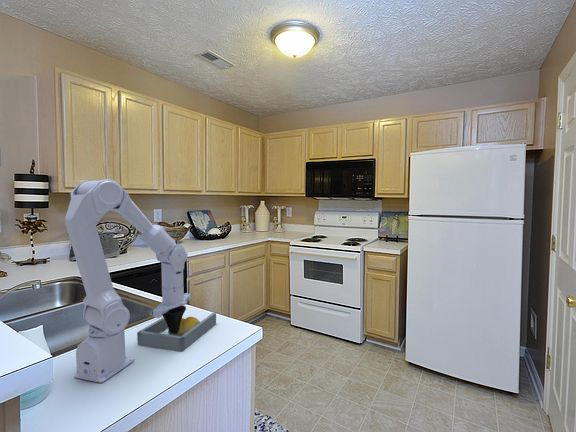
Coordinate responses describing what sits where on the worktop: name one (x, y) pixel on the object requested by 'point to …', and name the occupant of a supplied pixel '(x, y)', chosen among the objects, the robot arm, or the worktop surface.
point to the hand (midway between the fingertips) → (174, 332)
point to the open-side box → (179, 343)
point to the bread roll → (186, 325)
